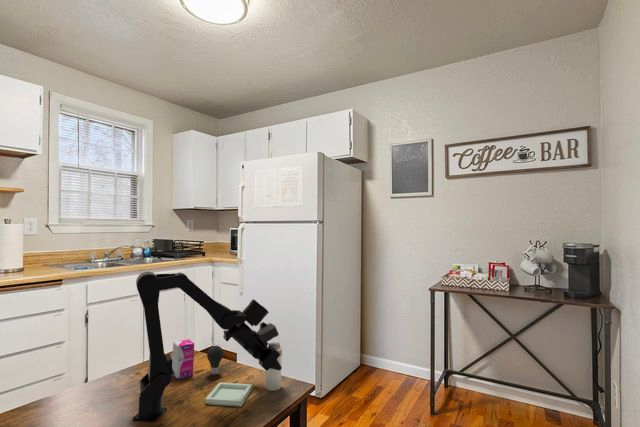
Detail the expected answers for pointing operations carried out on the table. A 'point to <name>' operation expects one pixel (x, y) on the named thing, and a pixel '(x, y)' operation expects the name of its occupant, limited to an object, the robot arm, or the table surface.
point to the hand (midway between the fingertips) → (277, 366)
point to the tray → (229, 394)
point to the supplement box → (183, 358)
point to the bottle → (274, 371)
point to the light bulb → (215, 358)
